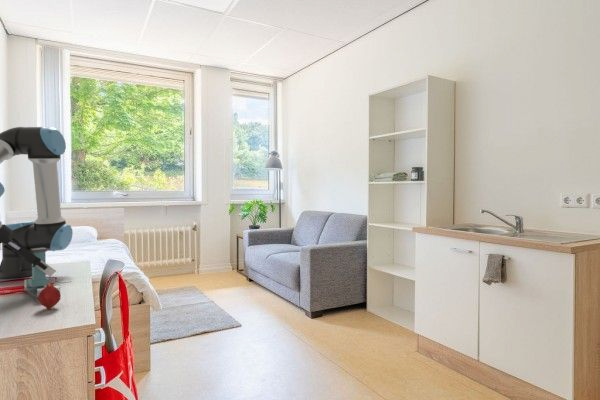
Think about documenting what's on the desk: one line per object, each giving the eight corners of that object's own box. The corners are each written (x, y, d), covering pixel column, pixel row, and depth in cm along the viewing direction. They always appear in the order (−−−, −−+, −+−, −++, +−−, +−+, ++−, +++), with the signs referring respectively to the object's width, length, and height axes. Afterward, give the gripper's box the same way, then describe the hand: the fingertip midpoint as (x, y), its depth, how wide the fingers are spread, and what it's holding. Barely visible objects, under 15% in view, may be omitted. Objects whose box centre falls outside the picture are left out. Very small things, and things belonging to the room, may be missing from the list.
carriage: (28, 285, 134) (28, 248, 134) (45, 282, 138) (45, 247, 138) (31, 287, 131) (31, 250, 131) (49, 284, 135) (48, 248, 135)
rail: (24, 290, 137) (24, 278, 137) (43, 287, 142) (43, 276, 141) (39, 302, 122) (39, 289, 122) (60, 298, 127) (60, 286, 126)
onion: (41, 307, 117) (40, 282, 117) (62, 304, 120) (62, 280, 119) (36, 312, 112) (35, 286, 112) (58, 310, 114) (58, 284, 114)
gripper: (-21, 238, 128) (37, 277, 141) (-14, 242, 117) (49, 285, 130) (-2, 222, 132) (53, 261, 145) (7, 224, 121) (66, 267, 133)
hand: (51, 272), depth 137 cm, fingers closed on carriage, 3 cm apart
